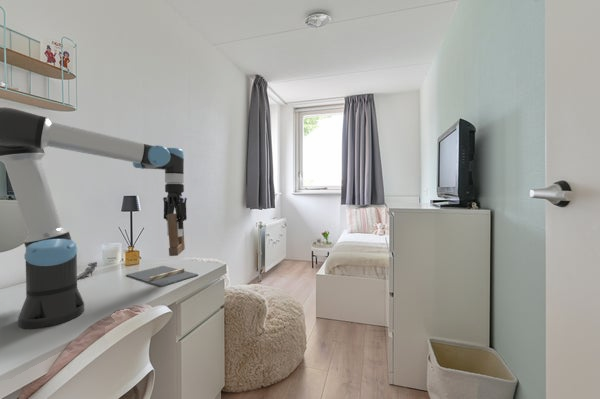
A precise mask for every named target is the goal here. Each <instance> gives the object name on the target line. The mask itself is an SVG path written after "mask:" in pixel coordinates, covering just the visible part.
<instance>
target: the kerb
mask: <svg viewBox="0 0 600 399" xmlns="http://www.w3.org/2000/svg"><path fill="white" fill-rule="evenodd" d="M178 269H179V270H175V271H171V272H167V273H164V274H160V275H156V276H152V277H150V281H153V280H157V279H161V278H164V277H168V276H171V275H175V274H178V273H182V272H184V271H185V268H183V267H182V268H178Z"/></svg>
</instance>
